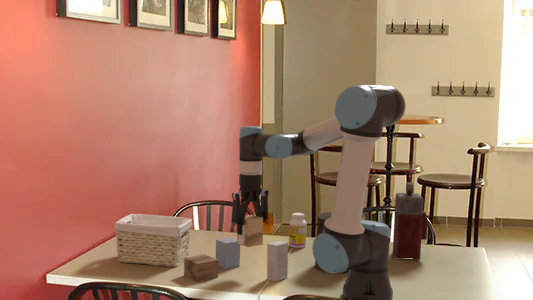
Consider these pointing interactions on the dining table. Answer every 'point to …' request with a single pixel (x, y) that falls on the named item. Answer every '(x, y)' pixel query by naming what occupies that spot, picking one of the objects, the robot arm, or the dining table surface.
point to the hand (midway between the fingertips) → (250, 242)
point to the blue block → (228, 253)
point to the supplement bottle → (297, 231)
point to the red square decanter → (409, 224)
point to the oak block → (253, 231)
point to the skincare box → (277, 260)
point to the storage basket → (153, 239)
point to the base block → (201, 267)
